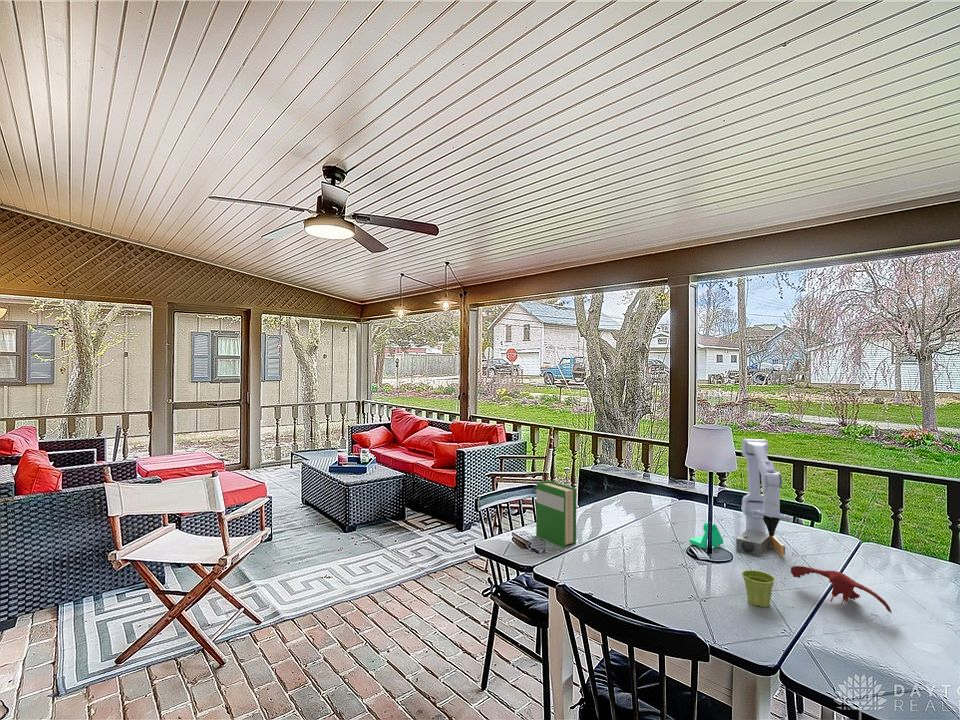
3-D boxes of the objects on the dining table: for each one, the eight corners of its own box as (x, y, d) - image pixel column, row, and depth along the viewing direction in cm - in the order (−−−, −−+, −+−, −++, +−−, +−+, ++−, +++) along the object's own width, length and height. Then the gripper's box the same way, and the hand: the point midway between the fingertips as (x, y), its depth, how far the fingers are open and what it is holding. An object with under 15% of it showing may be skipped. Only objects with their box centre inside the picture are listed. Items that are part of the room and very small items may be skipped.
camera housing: (747, 540, 211) (747, 527, 211) (771, 546, 204) (771, 532, 205) (735, 550, 199) (735, 537, 199) (759, 557, 192) (759, 543, 192)
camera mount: (707, 540, 211) (707, 517, 211) (723, 546, 204) (723, 522, 204) (688, 544, 206) (688, 520, 206) (703, 551, 199) (703, 526, 199)
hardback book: (576, 544, 205) (576, 488, 206) (563, 547, 201) (563, 490, 202) (548, 532, 220) (548, 480, 220) (536, 535, 216) (536, 482, 216)
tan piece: (770, 545, 204) (770, 534, 204) (774, 545, 204) (774, 535, 204) (780, 556, 192) (780, 545, 192) (785, 556, 191) (785, 545, 191)
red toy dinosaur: (797, 597, 168) (780, 571, 163) (808, 575, 171) (791, 549, 166) (896, 637, 143) (879, 608, 138) (907, 611, 146) (890, 581, 141)
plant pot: (759, 612, 149) (759, 584, 149) (735, 598, 158) (735, 571, 158) (782, 608, 151) (782, 580, 151) (757, 594, 160) (757, 568, 160)
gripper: (748, 500, 197) (749, 533, 197) (789, 507, 187) (790, 542, 187) (753, 497, 202) (754, 529, 202) (794, 504, 192) (794, 538, 192)
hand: (771, 535), depth 194 cm, fingers closed
